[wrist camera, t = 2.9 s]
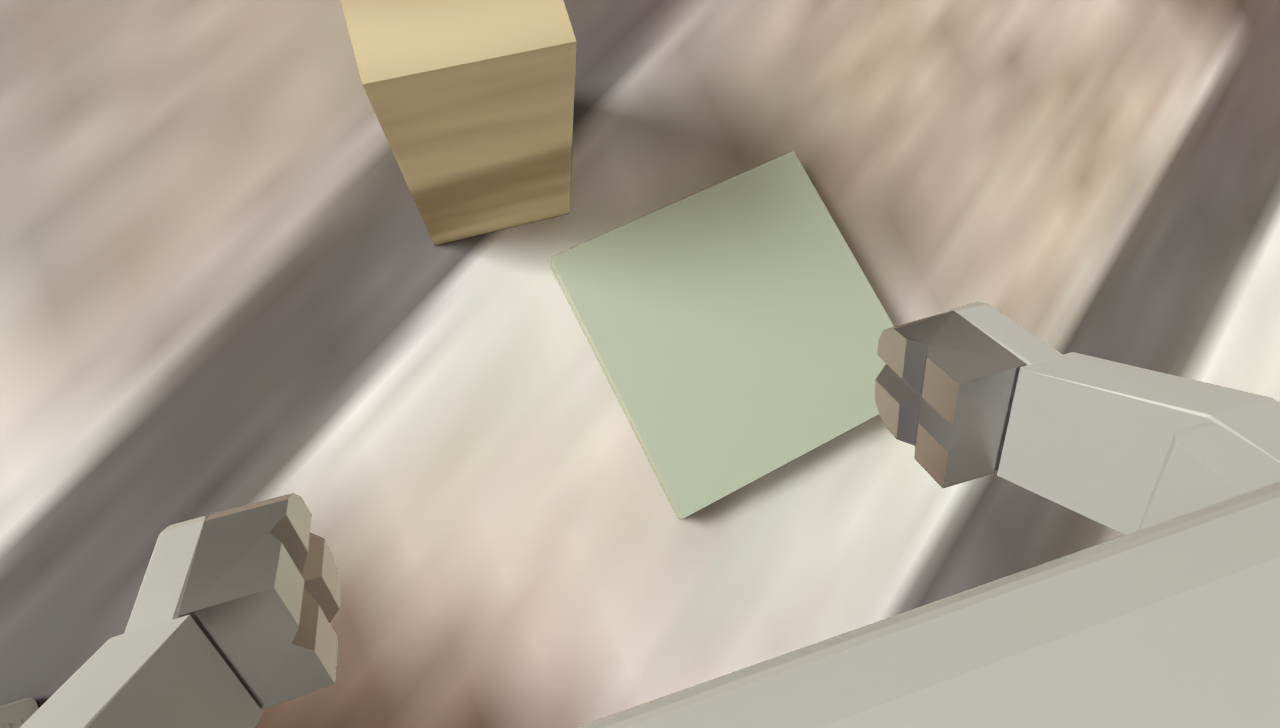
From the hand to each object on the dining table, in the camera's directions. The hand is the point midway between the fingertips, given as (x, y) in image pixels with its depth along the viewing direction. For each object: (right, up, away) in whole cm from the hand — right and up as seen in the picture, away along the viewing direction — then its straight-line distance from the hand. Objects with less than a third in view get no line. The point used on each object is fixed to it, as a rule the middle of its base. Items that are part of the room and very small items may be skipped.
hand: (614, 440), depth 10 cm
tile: (+4, +2, +17) cm, 17 cm away
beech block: (-5, +8, +17) cm, 20 cm away
